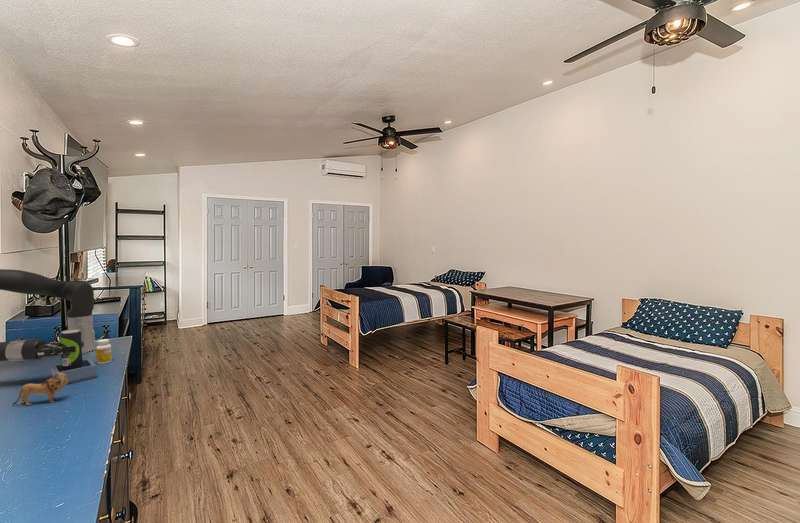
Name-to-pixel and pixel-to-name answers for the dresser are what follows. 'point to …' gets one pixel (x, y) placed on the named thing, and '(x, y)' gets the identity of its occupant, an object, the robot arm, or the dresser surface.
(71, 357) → the beverage can
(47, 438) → the dresser surface
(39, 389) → the lion figurine
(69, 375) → the slate blue open bin
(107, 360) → the supplement bottle
